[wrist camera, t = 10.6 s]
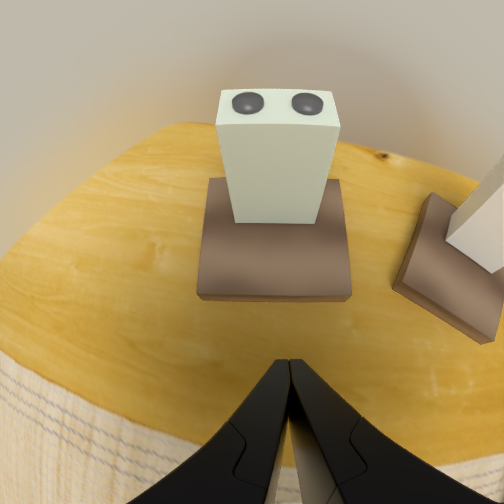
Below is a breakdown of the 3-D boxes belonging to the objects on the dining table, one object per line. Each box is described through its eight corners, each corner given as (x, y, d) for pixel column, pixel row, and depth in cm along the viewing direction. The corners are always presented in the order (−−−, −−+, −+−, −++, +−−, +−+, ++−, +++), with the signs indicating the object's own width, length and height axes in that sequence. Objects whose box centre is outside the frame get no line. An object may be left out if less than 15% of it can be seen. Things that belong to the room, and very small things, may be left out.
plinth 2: (480, 344, 19) (494, 341, 17) (392, 289, 22) (402, 281, 20) (500, 256, 22) (511, 249, 20) (423, 202, 25) (432, 191, 23)
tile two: (314, 223, 22) (341, 122, 12) (235, 223, 22) (214, 120, 13) (311, 191, 23) (332, 87, 14) (237, 190, 23) (221, 86, 14)
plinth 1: (344, 301, 22) (351, 295, 20) (202, 300, 22) (196, 293, 20) (334, 192, 25) (338, 179, 24) (213, 191, 26) (209, 178, 24)
